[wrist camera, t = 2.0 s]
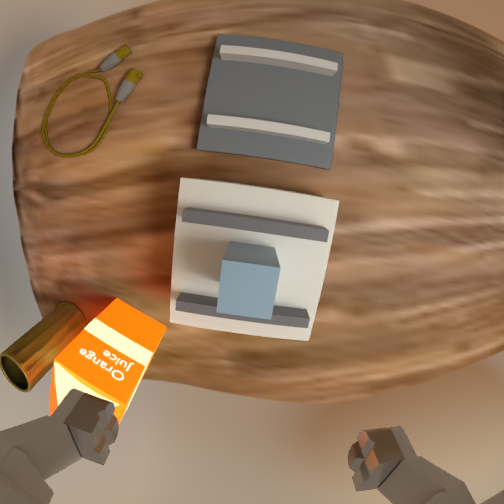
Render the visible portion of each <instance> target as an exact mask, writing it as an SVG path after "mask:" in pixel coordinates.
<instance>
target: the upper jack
mask: <svg viewBox="0 0 504 504" xmlns="http://www.w3.org/2000/svg"><path fill="white" fill-rule="evenodd" d="M338 205H339V201H338V200H334V199H331V198H327V197H323V196H317V195H312V194H306V193H300V192H294V191H288V190H282V189H276V188H269V187H263V186H256V185H249V184H241V183H234V182H226V181H218V180H210V179H201V178H181V179H180V187H179V196H178V205H177V215H176V226H175V237H174V250H173V264H172V281H171V302H170V322H172V323H177V324H183V325H188V326H194V327H200V328H206V329H213V330H219V331H226V332H233V333H240V334H248V335H256V336H264V337H273V338H282V339H292V340H303V341H309V337H310V334H311V330H312V326H313V322H314V318H315V314H316V310H317V306H318V302H319V298H320V294H321V289H322V285H323V281H324V276H325V272H326V267H327V262H328V258H329V253H330V248H331V243H332V238H333V233H334V227H335V222H336V217H337V211H338ZM230 241H232V242H239V243H247V244H254V245H261V246H268V247H275V250H276V253H277V257H278V260H279V264H280V267H281V269H280V274H279V280H278V285H277V291H276V296H275V301H274V307H273V312H272V317H271V320H270V319H262V318H254V317H246V316H239V315H232V314H225V313H218V312H216V311H217V302H218V293H219V284H220V275H221V266H222V259H223V257H224V254H225V252H226V249H227V247H228V244H229V242H230Z"/></svg>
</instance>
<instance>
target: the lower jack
mask: <svg viewBox="0 0 504 504" xmlns="http://www.w3.org/2000/svg"><path fill="white" fill-rule="evenodd" d="M342 64H343V53H339V52H335V51H331V50H327V49H323V48H319V47H314V46H309V45H304V44H299V43H294V42H288V41H282V40H275V39H268V38H260V37H251V36H240V35H226V34H218V37H217V41H216V46H215V50H214V55H213V60H212V64H211V69H210V74H209V79H208V84H207V90H206V95H205V101H204V106H203V112H202V118H201V124H200V130H199V137H198V143H197V150H199V151H209V152H218V153H227V154H235V155H243V156H251V157H258V158H265V159H271V160H278V161H284V162H290V163H296V164H301V165H307V166H312V167H317V168H322V169H327V170H329V169H330V168H331V161H332V154H333V147H334V140H335V132H336V124H337V115H338V106H339V97H340V87H341V76H342Z"/></svg>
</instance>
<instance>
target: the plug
mask: <svg viewBox="0 0 504 504" xmlns="http://www.w3.org/2000/svg"><path fill="white" fill-rule="evenodd" d="M280 269H281V267H280V264H279V260H278V257H277V253H276V250H275V247H268V246H261V245H254V244H247V243H239V242H232V241H230V242H229V244H228V247H227V249H226V252H225V254H224V257H223V259H222V266H221V275H220V284H219V293H218V302H217V311H216V312H218V313H225V314H232V315H239V316H246V317H254V318H262V319H270V320H271V317H272V312H273V307H274V301H275V296H276V291H277V285H278V280H279V274H280Z"/></svg>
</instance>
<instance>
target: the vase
mask: <svg viewBox="0 0 504 504" xmlns="http://www.w3.org/2000/svg"><path fill="white" fill-rule="evenodd" d="M86 326H87V323H86V320H85V318H84V316H83V314H82V313H81V311H80V310H79V309H78V308H77V307H76V306H74V305H73V304H71V303H68V302H61V303H59V304H58V305H57V306H56V307H55V308H54V310H53V311H51V312H50V313H49V314H48V315H47V316H46V317H45V318H43V319H42V320H41V321H40V322H39V323H37V324H36V325H35V326H34V327H32V328H31V329H30V330H29V331H28V332H27V333H26V334H24V335H23V336H22V337H21V338H19V339H18V340H17V341H15V342H14V343H13V344H12V345H11V346H9V347H8V348H7V349H6V350H5V351H3V352H2V353H1V354H0V367H1V370H2V372H3V374H4V375H5V377H6V378H7V380H8V381H9V382H10V383H11V384H12V385H13V386H14V387H15V388H17V389H18V390H20V391H22V392H29V391H30V390H31V389H32V388H33V387H34V386H35V385H36V384H37V382H38V381H39V380H40V379H41V378H42V377H43V376H44V375H45V374H46V373H47V372H48V371H49V370H50V369H51V368H52V367H53V363H54V360H55V358H56V357H57V356H58V355H59V354H60V353H61V352H62V351H63V350H64V349H65V348H66V347H67V346H68V345H69V344H70V343H71V342H72V341H73V340H74V339H75V338H76V337H77V336H78V335H79V334H80V333H81V332H82V331H83V330H84V328H85V327H86Z"/></svg>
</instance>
